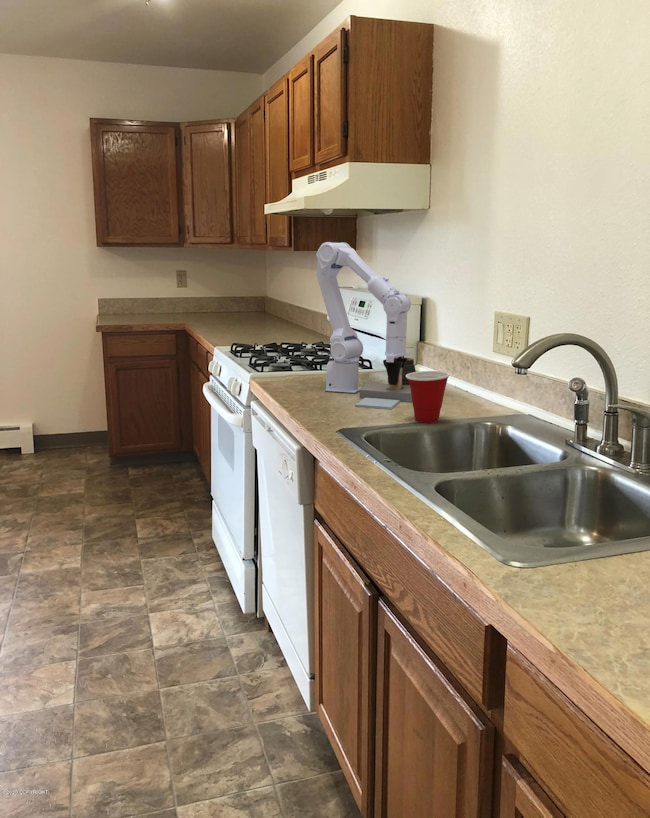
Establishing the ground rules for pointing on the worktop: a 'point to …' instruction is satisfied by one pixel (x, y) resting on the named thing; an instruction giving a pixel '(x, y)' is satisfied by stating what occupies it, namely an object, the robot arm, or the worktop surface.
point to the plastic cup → (427, 394)
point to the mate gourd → (408, 370)
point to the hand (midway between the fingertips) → (394, 383)
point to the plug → (399, 384)
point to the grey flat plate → (386, 392)
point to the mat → (377, 403)
